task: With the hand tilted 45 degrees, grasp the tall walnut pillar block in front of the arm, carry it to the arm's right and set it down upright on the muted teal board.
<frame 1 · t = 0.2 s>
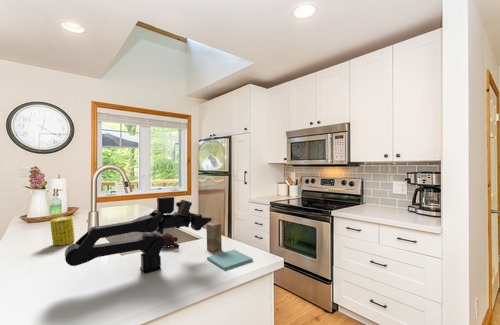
hand: (206, 217, 116), 17 cm above the counter, tool horizontal, fingers open, 9 cm apart
food: (63, 244, 135), on the counter
teal board: (229, 260, 108), on the counter
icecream: (166, 247, 127), on the counter
walnut pillar: (214, 250, 121), on the counter
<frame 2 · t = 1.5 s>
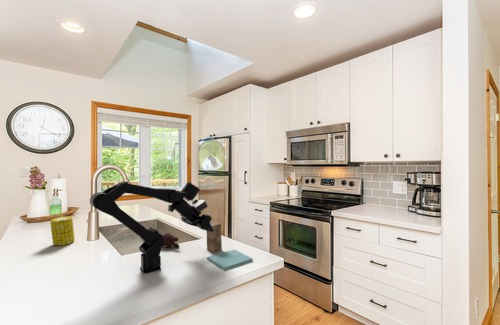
hand: (207, 229, 118), 11 cm above the counter, tool tilted 45°, fingers open, 9 cm apart
nothing on the counter moved.
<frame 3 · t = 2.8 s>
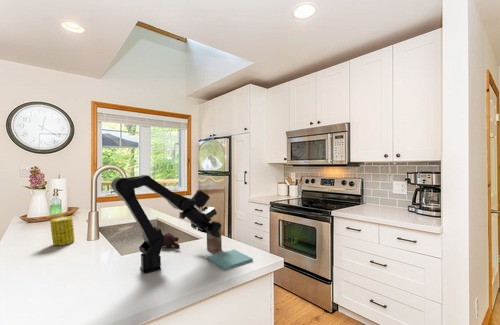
hand: (216, 235, 122), 7 cm above the counter, tool tilted 45°, fingers closed on walnut pillar, 5 cm apart
walnut pillar: (214, 249, 121), on the counter, touching gripper
everything else where it was.
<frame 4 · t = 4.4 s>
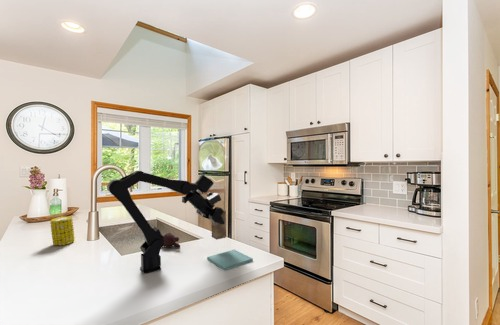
hand: (221, 222, 119), 14 cm above the counter, tool tilted 45°, fingers closed on walnut pillar, 5 cm apart
walnut pillar: (218, 237, 118), point 7 cm above the counter, touching gripper
everything else where it was.
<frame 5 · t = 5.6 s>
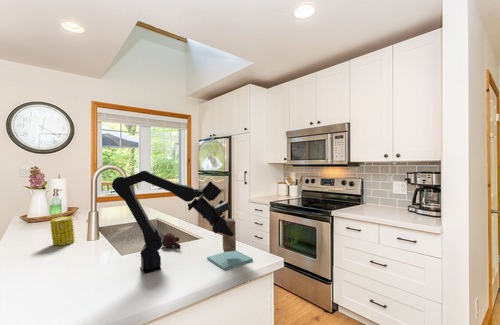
hand: (232, 233, 108), 11 cm above the counter, tool tilted 45°, fingers closed on walnut pillar, 5 cm apart
walnut pillar: (229, 249, 108), point 5 cm above the counter, touching gripper
when the fingers open (9 cm above the counter, at t = 6.4 s): walnut pillar drops 1 cm, resting on teal board.
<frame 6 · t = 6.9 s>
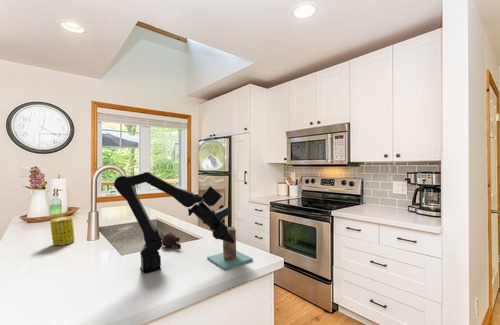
hand: (232, 238, 108), 9 cm above the counter, tool tilted 45°, fingers open, 9 cm apart
walnut pillar: (229, 257, 108), point 1 cm above the counter, touching teal board
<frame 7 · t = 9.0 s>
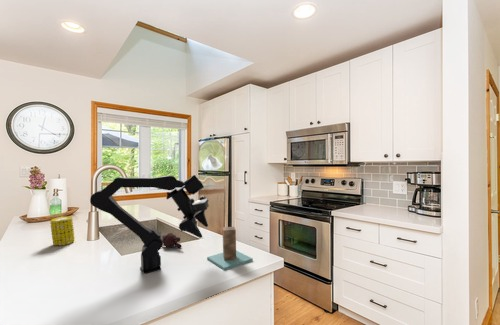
hand: (204, 231, 108), 13 cm above the counter, tool tilted 30°, fingers open, 9 cm apart
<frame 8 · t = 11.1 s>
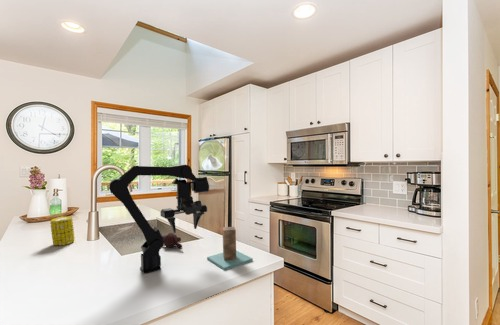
hand: (185, 230, 108), 13 cm above the counter, tool pointing down, fingers open, 9 cm apart
at the end: walnut pillar inside the target area on the teal board (0.0 cm from its centre), point 1.0 cm above the teal board's base; walnut pillar tilted 0°; the gripper is holding nothing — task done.
